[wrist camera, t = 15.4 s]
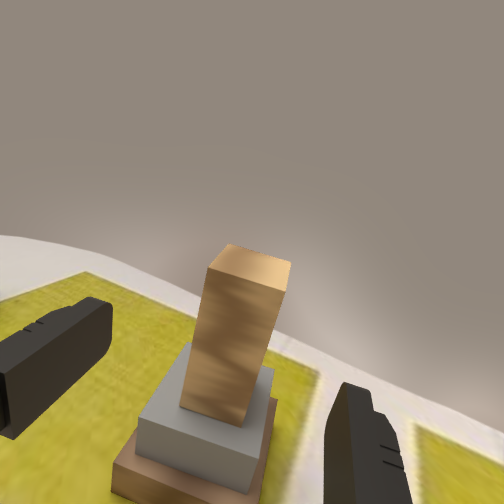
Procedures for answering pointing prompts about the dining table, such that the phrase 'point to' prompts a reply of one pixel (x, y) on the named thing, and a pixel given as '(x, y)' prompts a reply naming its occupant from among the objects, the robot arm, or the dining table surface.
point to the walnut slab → (181, 477)
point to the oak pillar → (233, 332)
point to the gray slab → (203, 432)
